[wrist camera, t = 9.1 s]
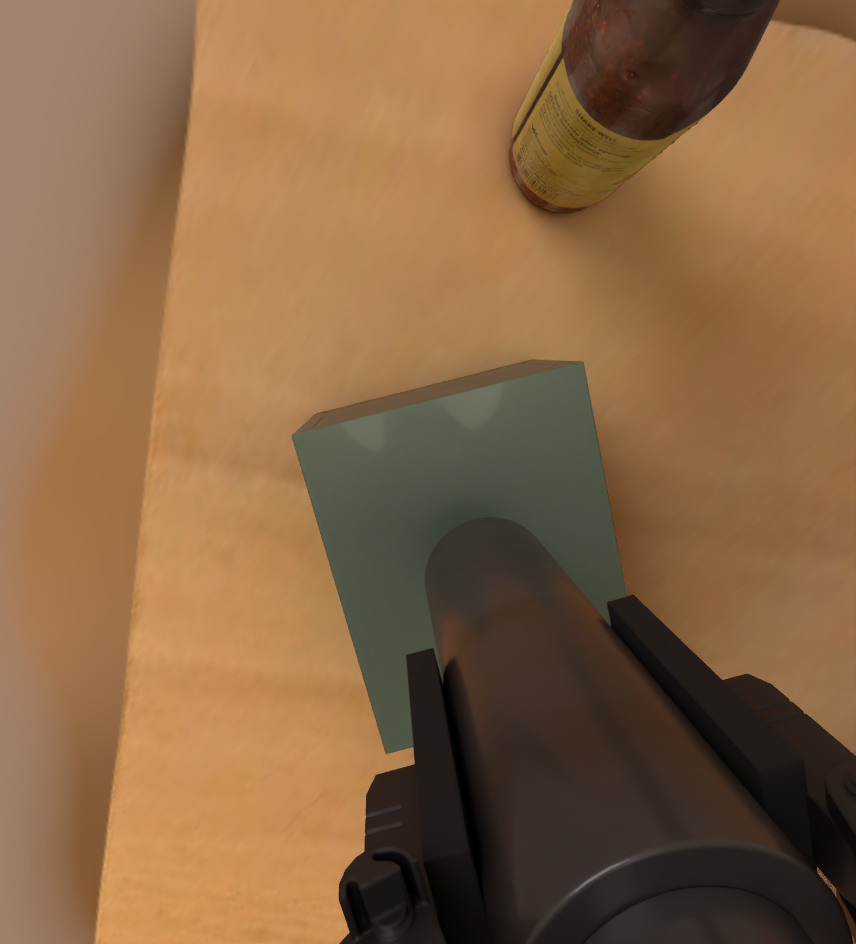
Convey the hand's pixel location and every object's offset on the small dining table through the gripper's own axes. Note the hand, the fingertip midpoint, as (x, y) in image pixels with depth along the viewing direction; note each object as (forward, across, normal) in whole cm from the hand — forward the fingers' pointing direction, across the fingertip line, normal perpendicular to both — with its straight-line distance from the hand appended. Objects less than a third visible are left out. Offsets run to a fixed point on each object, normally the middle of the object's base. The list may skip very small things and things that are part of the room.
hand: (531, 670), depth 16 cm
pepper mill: (+7, 0, 0) cm, 7 cm away
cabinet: (+19, 0, +1) cm, 19 cm away
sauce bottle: (+19, -10, -17) cm, 27 cm away
